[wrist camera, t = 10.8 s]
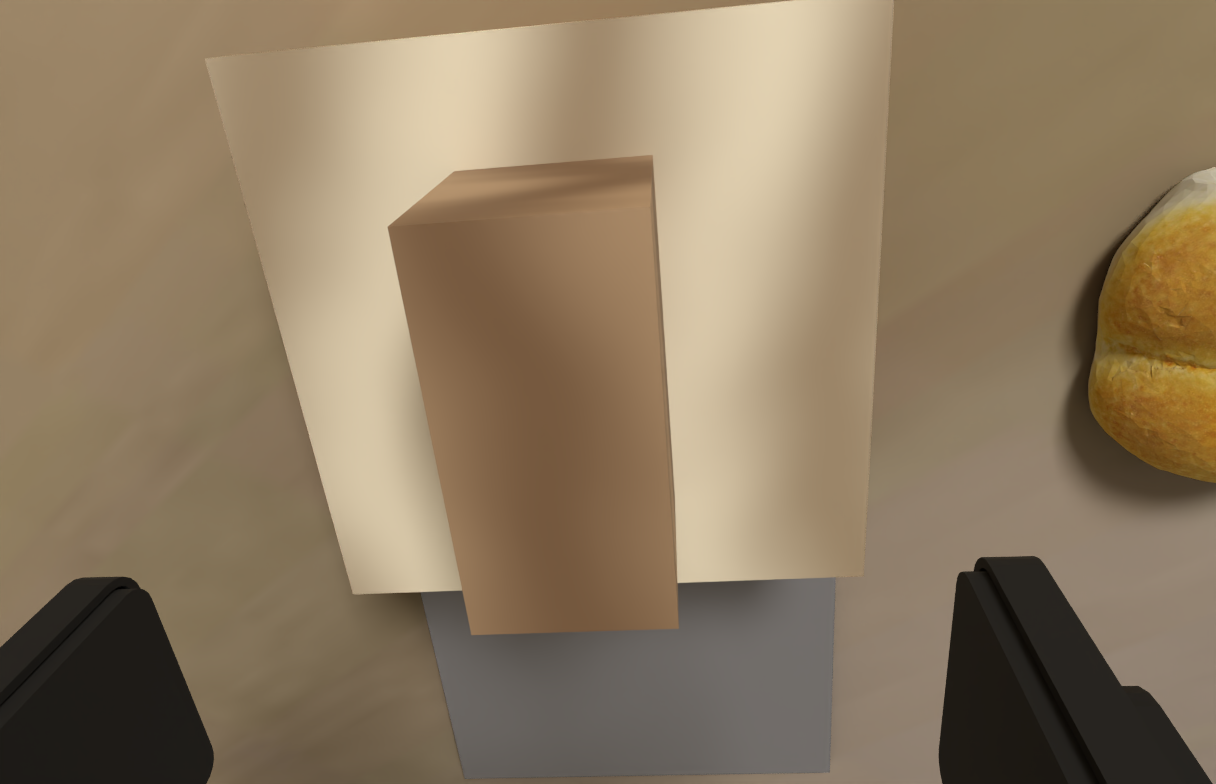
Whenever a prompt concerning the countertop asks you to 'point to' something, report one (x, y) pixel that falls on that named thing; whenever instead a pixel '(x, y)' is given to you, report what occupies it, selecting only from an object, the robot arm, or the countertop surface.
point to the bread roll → (1162, 335)
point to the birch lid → (580, 299)
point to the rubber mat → (648, 688)
